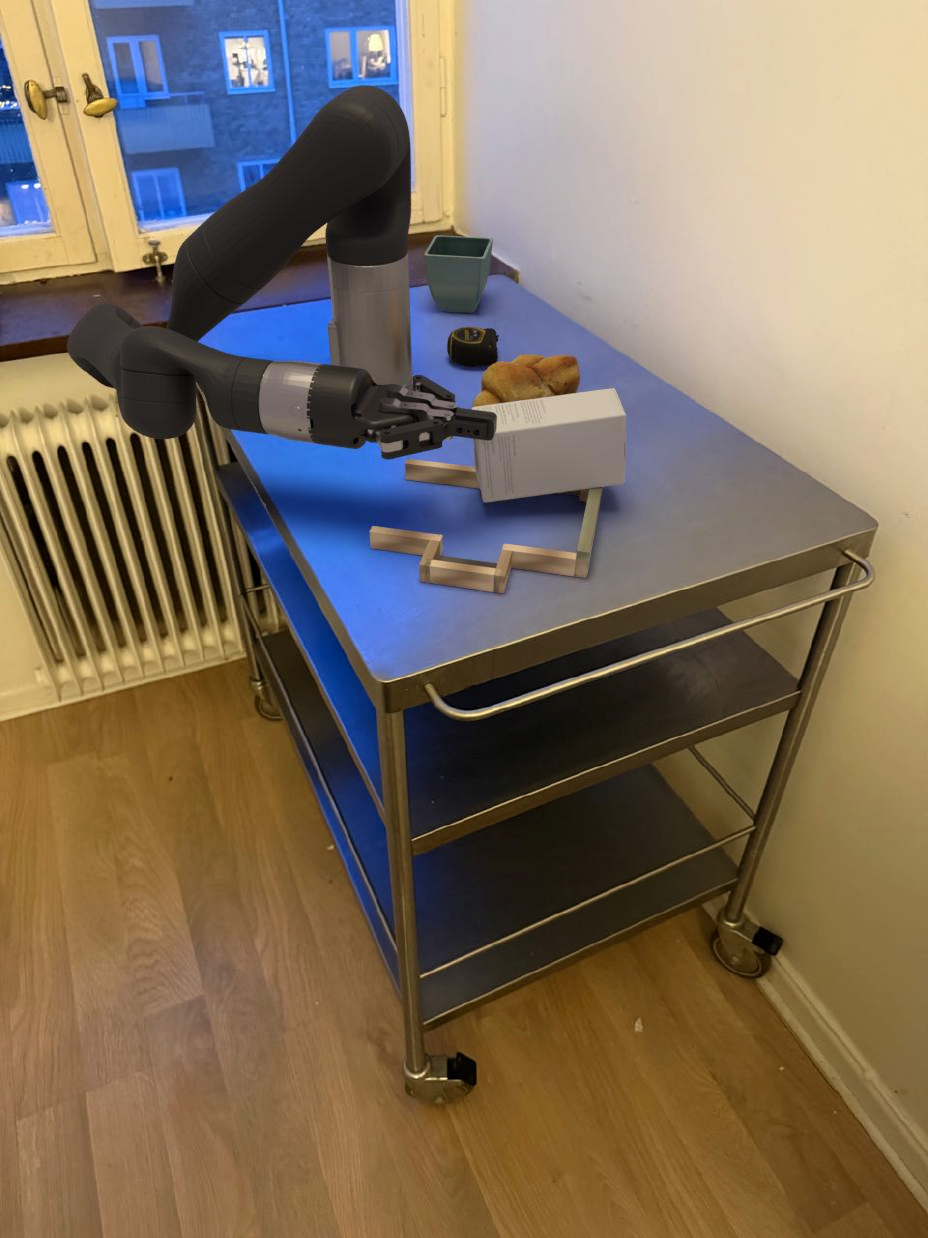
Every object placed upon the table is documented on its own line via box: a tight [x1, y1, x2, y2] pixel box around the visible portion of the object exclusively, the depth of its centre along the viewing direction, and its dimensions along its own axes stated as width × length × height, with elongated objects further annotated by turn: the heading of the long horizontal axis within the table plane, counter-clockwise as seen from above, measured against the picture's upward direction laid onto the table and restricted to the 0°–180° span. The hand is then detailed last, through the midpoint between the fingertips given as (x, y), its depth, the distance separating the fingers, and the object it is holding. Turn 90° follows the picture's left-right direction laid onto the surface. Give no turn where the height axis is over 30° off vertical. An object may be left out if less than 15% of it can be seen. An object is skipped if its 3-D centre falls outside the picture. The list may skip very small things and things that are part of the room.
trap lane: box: [369, 458, 604, 594], centre depth 90 cm, size 21×24×3 cm
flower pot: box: [423, 234, 494, 314], centre depth 130 cm, size 9×9×9 cm
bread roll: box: [471, 353, 581, 408], centre depth 105 cm, size 13×10×8 cm
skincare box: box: [471, 387, 627, 504], centre depth 88 cm, size 8×6×15 cm
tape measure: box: [446, 326, 500, 368], centre depth 118 cm, size 7×7×4 cm
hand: (494, 426), depth 82 cm, fingers closed
